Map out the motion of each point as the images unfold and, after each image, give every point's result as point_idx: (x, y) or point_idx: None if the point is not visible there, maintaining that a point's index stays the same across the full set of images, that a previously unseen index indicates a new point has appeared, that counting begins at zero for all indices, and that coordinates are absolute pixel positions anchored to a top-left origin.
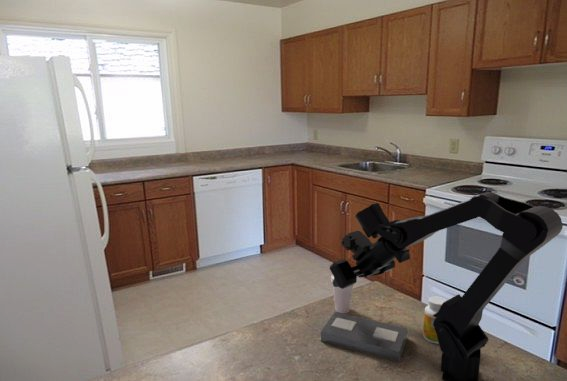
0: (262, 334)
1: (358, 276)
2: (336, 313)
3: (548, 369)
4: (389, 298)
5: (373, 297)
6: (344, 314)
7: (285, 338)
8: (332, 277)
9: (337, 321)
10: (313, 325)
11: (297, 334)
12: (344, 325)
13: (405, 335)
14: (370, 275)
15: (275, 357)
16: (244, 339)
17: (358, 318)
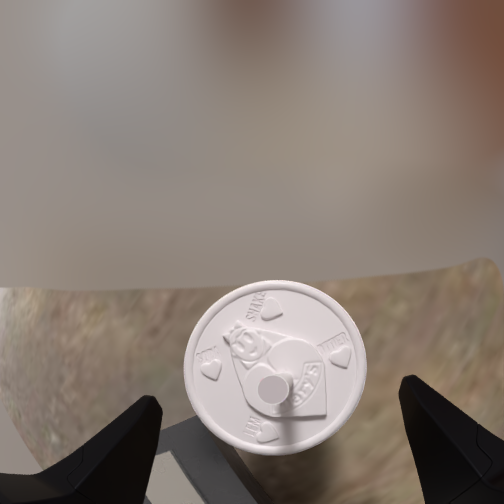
0: (45, 325)
1: (399, 390)
2: (192, 427)
3: None
4: (480, 372)
5: (446, 343)
6: (214, 451)
7: (63, 374)
8: (199, 331)
9: (156, 466)
10: (137, 384)
11: (86, 384)
12: (161, 494)
13: None
14: (423, 490)
15: (31, 405)
16: (25, 316)
17: (240, 497)
